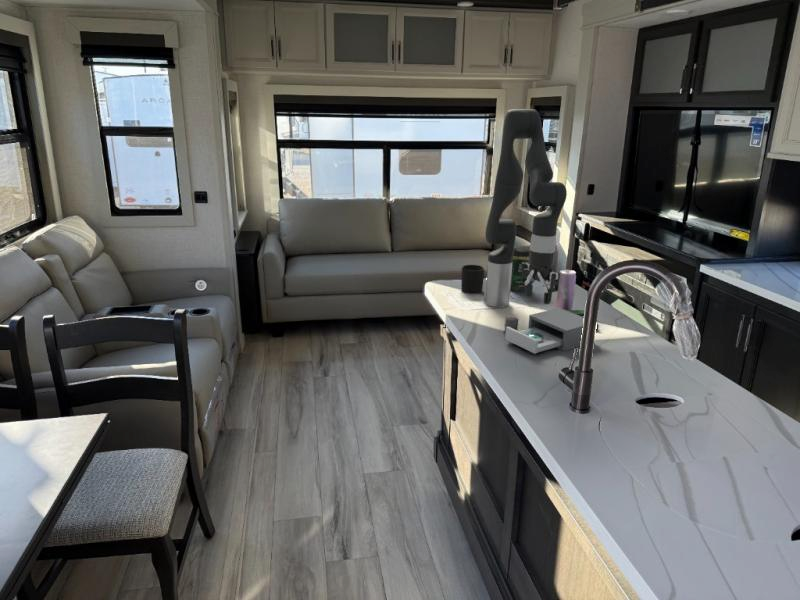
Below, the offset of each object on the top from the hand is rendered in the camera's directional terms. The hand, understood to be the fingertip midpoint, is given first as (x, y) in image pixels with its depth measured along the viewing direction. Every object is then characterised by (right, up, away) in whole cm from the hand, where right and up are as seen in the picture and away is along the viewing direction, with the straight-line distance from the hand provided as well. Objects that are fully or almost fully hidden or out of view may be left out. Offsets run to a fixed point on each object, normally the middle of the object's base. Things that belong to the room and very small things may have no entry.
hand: (537, 299), depth 175 cm
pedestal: (-5, -11, +15) cm, 20 cm away
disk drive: (+21, -9, +26) cm, 34 cm away
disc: (0, -13, +4) cm, 14 cm away
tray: (0, -14, +5) cm, 14 cm away
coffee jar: (+7, +5, +62) cm, 63 cm away
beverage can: (+19, -4, +38) cm, 43 cm away
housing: (+10, -13, +11) cm, 20 cm away
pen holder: (-13, +4, +59) cm, 60 cm away
